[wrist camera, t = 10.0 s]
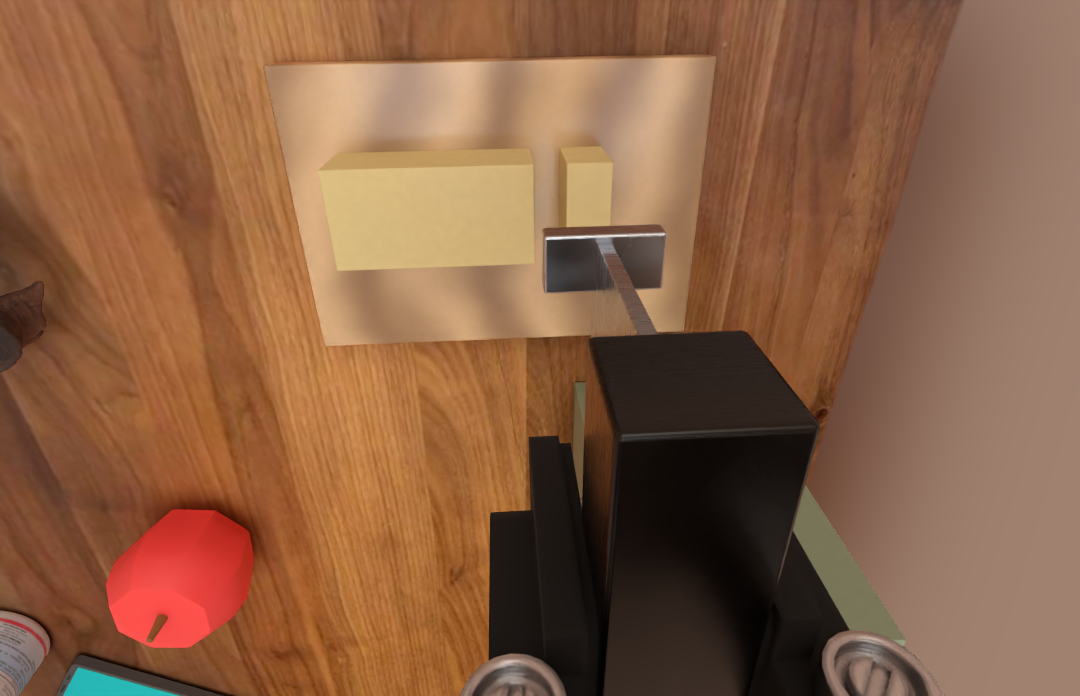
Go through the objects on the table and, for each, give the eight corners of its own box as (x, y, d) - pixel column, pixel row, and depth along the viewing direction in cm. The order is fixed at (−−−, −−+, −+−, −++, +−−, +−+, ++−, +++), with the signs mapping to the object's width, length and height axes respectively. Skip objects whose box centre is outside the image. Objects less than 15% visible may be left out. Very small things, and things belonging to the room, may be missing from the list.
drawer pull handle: (661, 207, 12) (846, 424, 6) (632, 534, 16) (717, 855, 10) (541, 212, 12) (593, 436, 5) (545, 539, 16) (576, 867, 10)
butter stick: (529, 147, 28) (533, 164, 25) (531, 239, 30) (535, 264, 27) (336, 152, 28) (316, 170, 25) (352, 245, 30) (336, 271, 27)
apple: (252, 585, 44) (205, 694, 37) (135, 554, 41) (62, 664, 34) (284, 512, 40) (239, 616, 33) (159, 474, 38) (83, 577, 31)
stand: (734, 374, 37) (906, 639, 21) (709, 515, 43) (831, 804, 27) (574, 382, 37) (632, 658, 21) (571, 523, 43) (615, 821, 27)
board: (706, 54, 28) (717, 56, 27) (677, 320, 35) (684, 331, 34) (273, 62, 27) (262, 64, 26) (330, 334, 34) (324, 346, 33)
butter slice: (601, 146, 28) (613, 162, 25) (597, 236, 31) (609, 261, 27) (559, 146, 28) (566, 163, 25) (559, 238, 30) (565, 263, 27)
